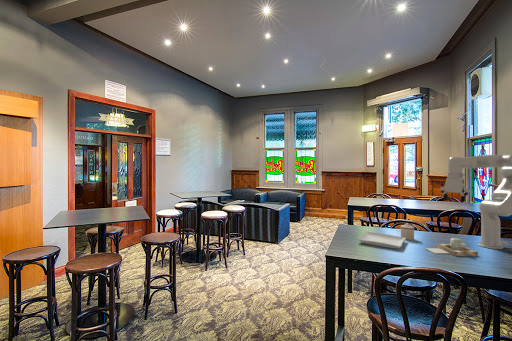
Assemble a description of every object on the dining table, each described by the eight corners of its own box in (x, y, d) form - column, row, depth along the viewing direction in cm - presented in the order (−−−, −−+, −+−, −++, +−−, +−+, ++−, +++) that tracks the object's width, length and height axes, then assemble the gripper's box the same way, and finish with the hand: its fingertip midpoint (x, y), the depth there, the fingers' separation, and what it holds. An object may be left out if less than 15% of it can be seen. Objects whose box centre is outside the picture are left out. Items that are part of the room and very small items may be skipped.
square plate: (400, 251, 163) (400, 245, 163) (356, 244, 179) (356, 238, 179) (406, 242, 184) (406, 236, 184) (366, 236, 201) (366, 231, 201)
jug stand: (457, 247, 170) (457, 244, 170) (478, 256, 154) (478, 251, 154) (436, 247, 170) (436, 243, 170) (454, 255, 154) (454, 251, 154)
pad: (439, 249, 167) (439, 248, 167) (449, 253, 158) (449, 252, 158) (425, 249, 167) (425, 248, 167) (434, 253, 158) (434, 252, 158)
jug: (447, 250, 165) (448, 237, 165) (457, 250, 165) (457, 237, 165) (459, 255, 155) (459, 242, 155) (469, 255, 155) (469, 242, 155)
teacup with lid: (416, 240, 187) (416, 224, 186) (403, 240, 188) (403, 224, 188) (409, 236, 198) (409, 221, 198) (397, 235, 200) (397, 221, 200)
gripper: (473, 176, 163) (472, 202, 163) (443, 175, 178) (442, 199, 178) (467, 176, 159) (466, 203, 160) (437, 175, 175) (436, 199, 175)
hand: (454, 201), depth 169 cm, fingers open, 9 cm apart
